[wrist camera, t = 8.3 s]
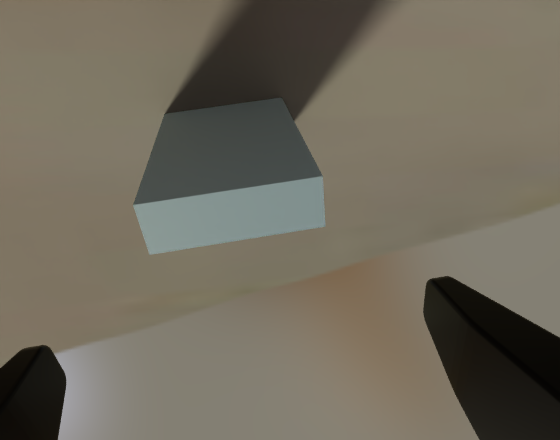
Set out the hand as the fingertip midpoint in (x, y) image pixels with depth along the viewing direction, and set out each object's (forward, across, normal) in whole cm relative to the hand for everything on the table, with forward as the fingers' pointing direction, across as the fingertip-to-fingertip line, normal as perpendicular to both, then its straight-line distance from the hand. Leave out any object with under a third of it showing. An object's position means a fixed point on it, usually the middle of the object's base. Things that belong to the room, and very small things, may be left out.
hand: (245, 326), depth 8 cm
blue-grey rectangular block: (+12, 0, 0) cm, 12 cm away
